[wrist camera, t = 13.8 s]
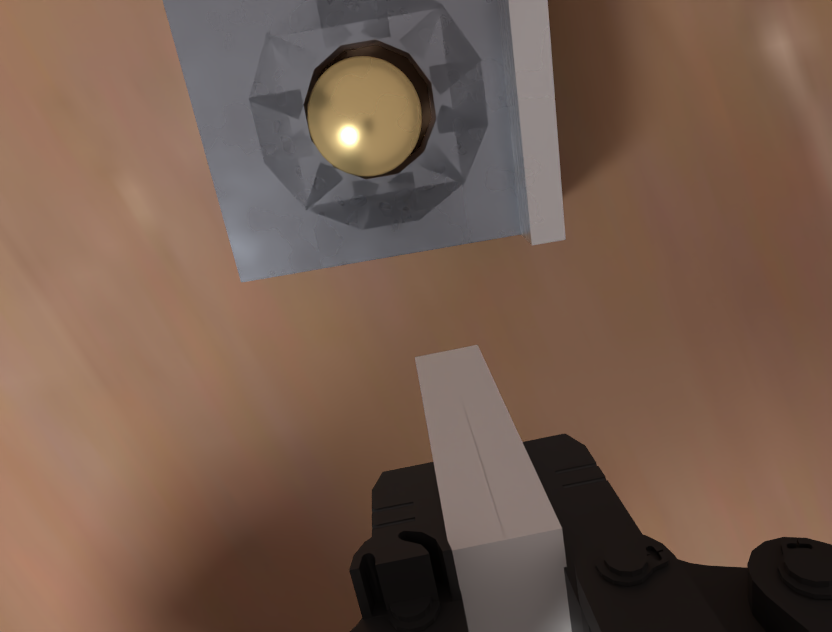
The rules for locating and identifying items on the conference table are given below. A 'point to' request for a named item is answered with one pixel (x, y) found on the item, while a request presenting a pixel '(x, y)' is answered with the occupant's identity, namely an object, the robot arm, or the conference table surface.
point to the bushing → (364, 116)
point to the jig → (416, 176)
